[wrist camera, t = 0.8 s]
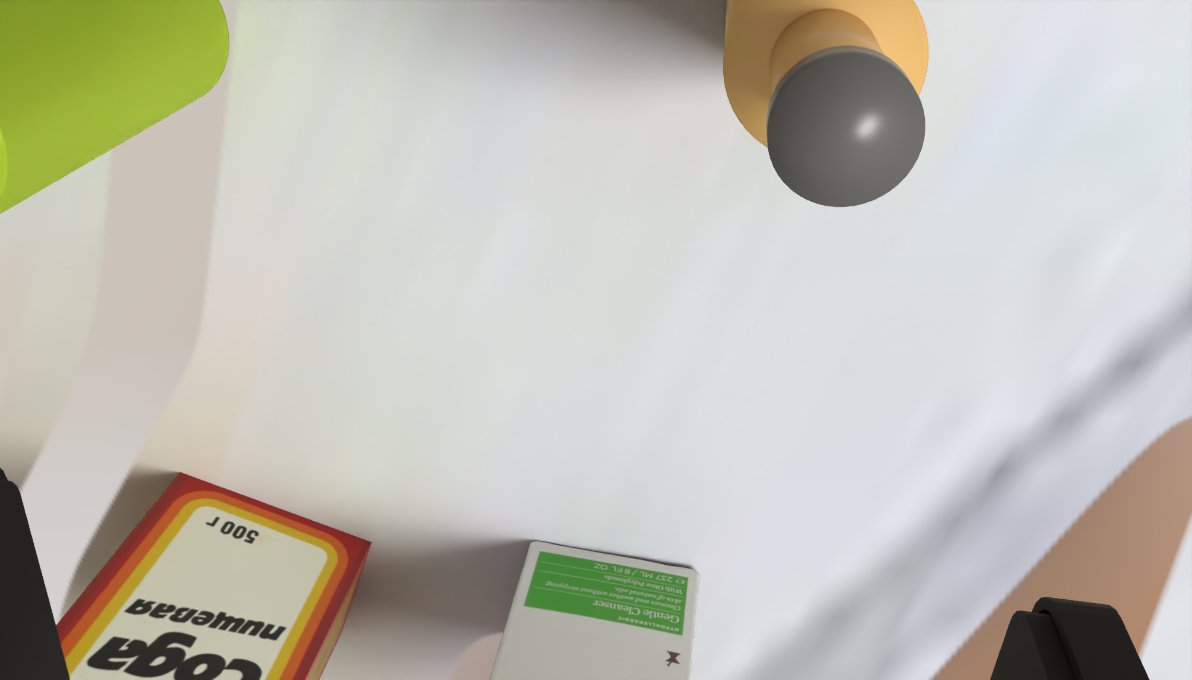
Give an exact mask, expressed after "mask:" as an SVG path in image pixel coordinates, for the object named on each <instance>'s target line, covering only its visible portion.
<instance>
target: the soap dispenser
mask: <svg viewBox="0 0 1192 680" xmlns="http://www.w3.org/2000/svg"><path fill="white" fill-rule="evenodd" d="M228 52H229V32H228V26H227V21H226V18H225V14H224V12H223V9H222V6H221V4H220V2H219V0H0V214H1V213H2V212H4V211H6V210H8V209H9V208H11V207H13V206H14V205H16V204H18V203H20V202H21V201H23V200H25V199H26V198H28V197H30V196H32V195H33V194H35V193H37V192H39V191H40V190H42V189H44V188H45V187H47V186H49V185H51V184H52V183H54V182H56V181H57V180H59V179H61V178H63V177H64V176H66V175H68V174H69V173H71V172H73V171H75V170H76V169H78V168H80V167H81V166H83V165H85V164H87V163H88V162H90V161H92V160H93V159H95V158H97V157H99V156H100V155H102V154H104V153H106V152H107V151H109V150H111V149H112V148H114V147H116V146H118V145H119V144H121V143H123V142H124V141H126V140H128V139H130V138H131V137H133V136H134V135H136V134H138V133H140V132H142V131H143V130H145V129H146V128H148V127H150V126H152V125H154V124H155V123H157V122H159V121H161V120H162V119H164V118H166V117H167V116H169V115H171V114H172V113H174V112H176V111H178V110H179V109H181V108H183V107H184V106H186V105H188V104H190V103H191V102H193V101H195V100H196V99H198V98H200V97H202V96H203V95H205V94H206V93H207V92H208V91H210V90H211V89H212V88H213V86H214V85H215V84H216V83H217V82H218V80H219V78H220V77H221V75H222V73H223V71H224V68H225V66H226V62H227V58H228Z"/></svg>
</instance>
